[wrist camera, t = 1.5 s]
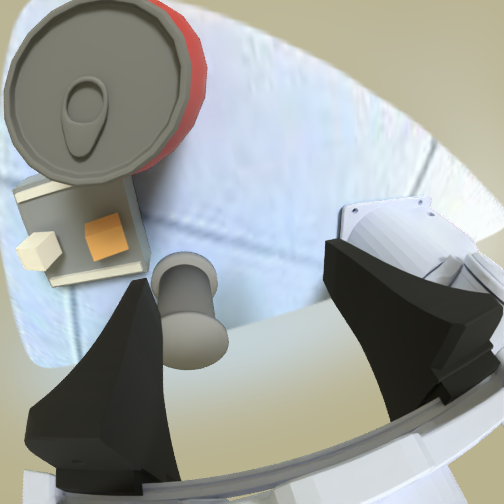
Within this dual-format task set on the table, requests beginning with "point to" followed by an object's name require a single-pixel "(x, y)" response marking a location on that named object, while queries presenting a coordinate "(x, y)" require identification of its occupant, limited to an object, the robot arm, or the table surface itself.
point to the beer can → (104, 90)
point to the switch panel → (83, 226)
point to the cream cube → (39, 251)
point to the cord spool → (188, 311)
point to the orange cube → (105, 236)
